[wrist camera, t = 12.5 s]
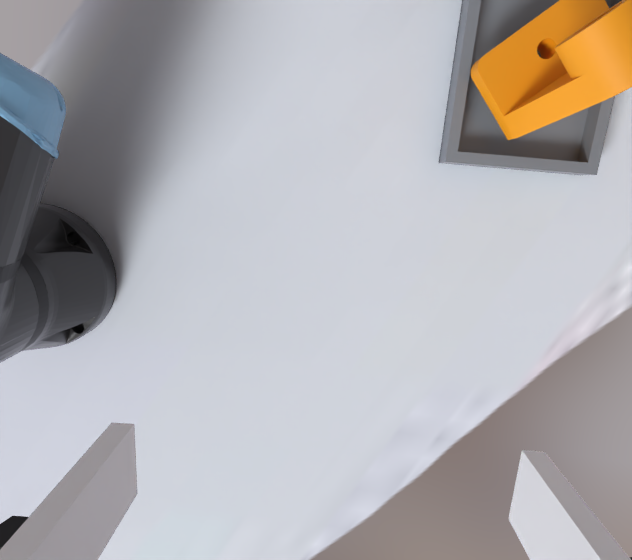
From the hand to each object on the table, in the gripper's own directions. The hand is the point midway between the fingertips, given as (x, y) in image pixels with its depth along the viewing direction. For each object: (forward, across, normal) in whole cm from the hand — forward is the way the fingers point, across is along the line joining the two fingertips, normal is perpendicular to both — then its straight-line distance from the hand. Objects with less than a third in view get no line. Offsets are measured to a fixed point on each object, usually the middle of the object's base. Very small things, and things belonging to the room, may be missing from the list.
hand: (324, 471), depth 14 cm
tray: (+31, +18, +20) cm, 41 cm away
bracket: (+29, +17, +20) cm, 39 cm away
